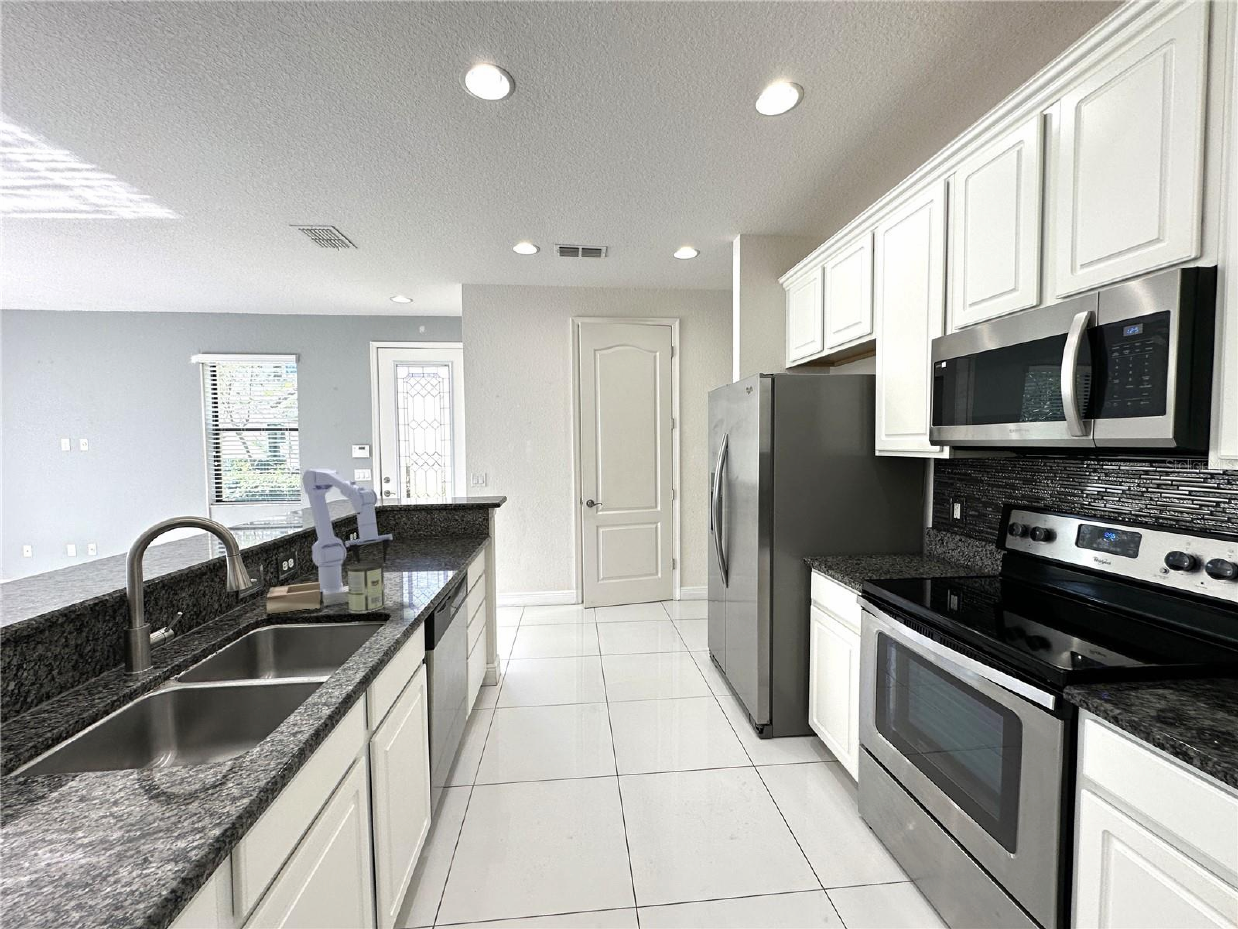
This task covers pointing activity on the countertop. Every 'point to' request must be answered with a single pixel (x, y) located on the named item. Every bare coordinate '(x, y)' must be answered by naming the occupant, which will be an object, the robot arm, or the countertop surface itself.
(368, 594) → the coffee can
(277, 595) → the wooden channel
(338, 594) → the aluminium block
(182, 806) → the countertop surface
